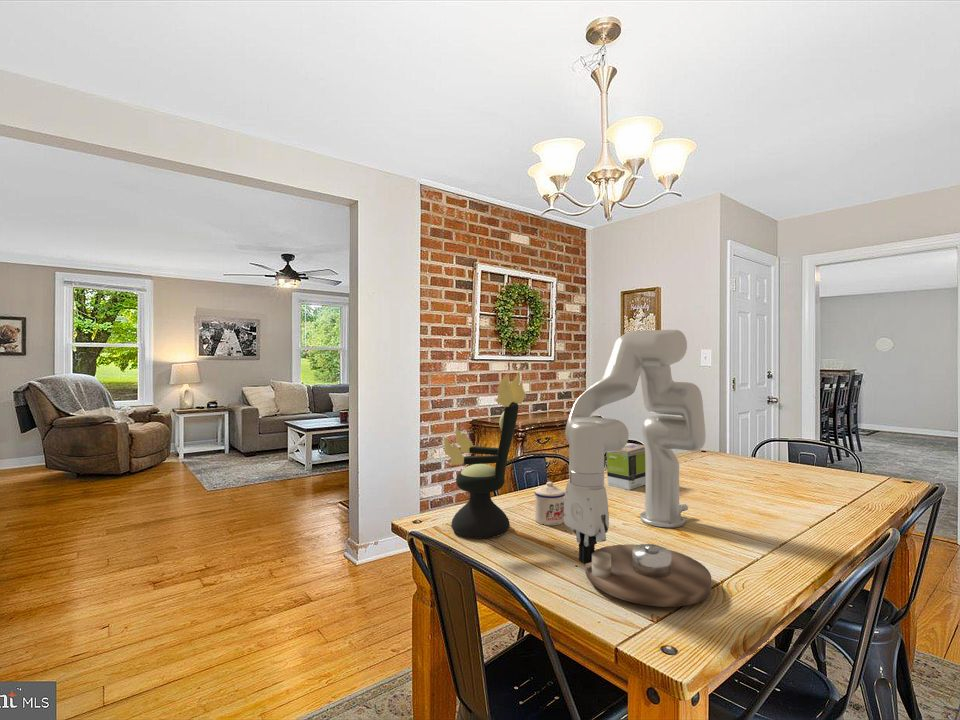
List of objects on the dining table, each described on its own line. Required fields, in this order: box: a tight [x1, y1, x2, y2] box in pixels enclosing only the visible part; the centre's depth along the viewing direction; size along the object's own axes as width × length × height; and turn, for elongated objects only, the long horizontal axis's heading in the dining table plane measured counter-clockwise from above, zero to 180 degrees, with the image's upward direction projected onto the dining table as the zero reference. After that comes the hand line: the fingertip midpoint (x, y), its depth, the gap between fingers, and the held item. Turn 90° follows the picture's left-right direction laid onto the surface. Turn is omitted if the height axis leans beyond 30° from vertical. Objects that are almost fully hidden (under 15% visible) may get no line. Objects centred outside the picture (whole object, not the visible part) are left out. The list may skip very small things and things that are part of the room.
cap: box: [632, 543, 671, 578], centre depth 106 cm, size 8×8×5 cm
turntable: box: [585, 544, 712, 608], centre depth 107 cm, size 26×26×6 cm
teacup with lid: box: [534, 481, 565, 526], centre depth 148 cm, size 12×9×12 cm
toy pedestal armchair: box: [443, 372, 527, 539], centre depth 140 cm, size 19×22×45 cm
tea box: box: [606, 442, 645, 491], centre depth 188 cm, size 15×10×15 cm
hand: (586, 561), depth 108 cm, fingers closed
